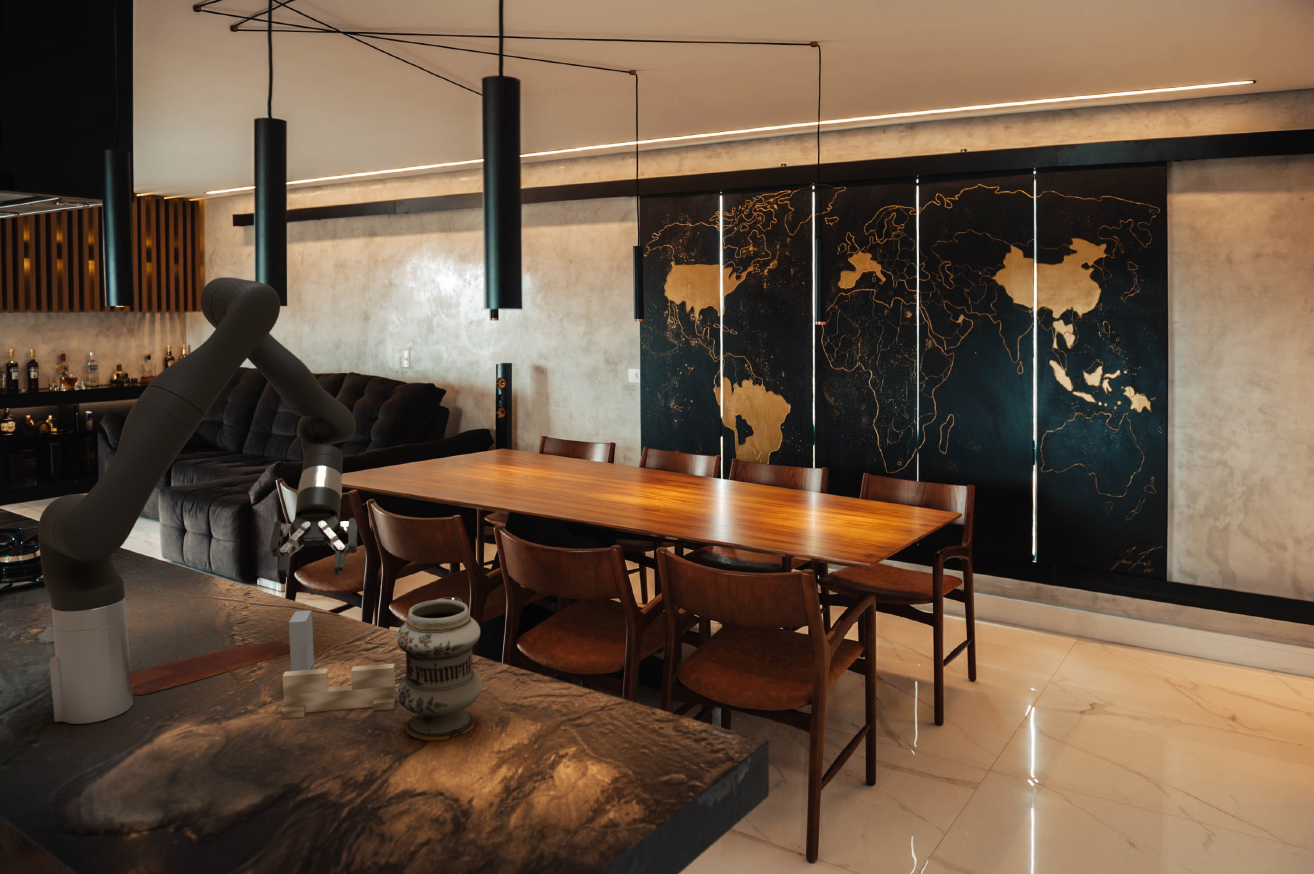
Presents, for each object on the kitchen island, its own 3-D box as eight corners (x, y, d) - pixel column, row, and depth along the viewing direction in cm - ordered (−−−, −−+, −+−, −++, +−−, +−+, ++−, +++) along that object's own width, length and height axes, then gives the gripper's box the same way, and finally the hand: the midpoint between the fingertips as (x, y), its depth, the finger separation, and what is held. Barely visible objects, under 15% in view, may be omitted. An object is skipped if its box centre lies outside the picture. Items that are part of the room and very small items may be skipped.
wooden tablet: (138, 701, 134) (137, 691, 134) (117, 684, 141) (116, 674, 141) (301, 654, 154) (301, 645, 154) (276, 640, 161) (275, 632, 160)
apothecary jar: (428, 753, 117) (424, 627, 115) (382, 726, 125) (378, 608, 123) (499, 724, 126) (497, 607, 124) (452, 700, 134) (449, 589, 132)
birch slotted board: (282, 718, 127) (280, 680, 126) (289, 704, 132) (287, 667, 131) (393, 709, 131) (392, 671, 130) (396, 695, 135) (395, 659, 135)
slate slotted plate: (292, 694, 136) (288, 622, 134) (298, 681, 141) (295, 611, 139) (308, 693, 136) (305, 621, 135) (314, 679, 141) (311, 610, 140)
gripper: (274, 486, 152) (262, 565, 143) (357, 483, 156) (351, 560, 146) (281, 509, 158) (271, 586, 149) (362, 506, 161) (356, 581, 152)
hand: (311, 573), depth 147 cm, fingers open, 8 cm apart
